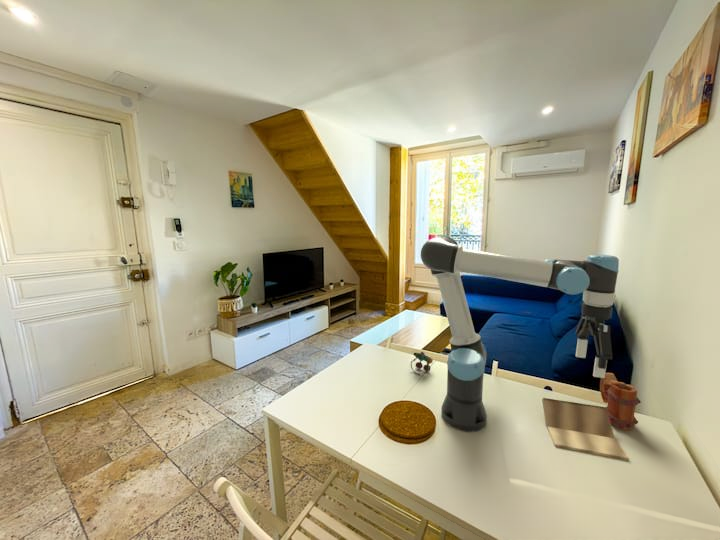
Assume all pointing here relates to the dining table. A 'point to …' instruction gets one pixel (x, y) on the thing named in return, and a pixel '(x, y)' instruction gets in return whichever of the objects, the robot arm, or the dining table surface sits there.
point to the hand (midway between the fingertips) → (588, 366)
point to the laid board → (587, 443)
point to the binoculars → (422, 357)
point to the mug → (619, 401)
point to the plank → (577, 417)
